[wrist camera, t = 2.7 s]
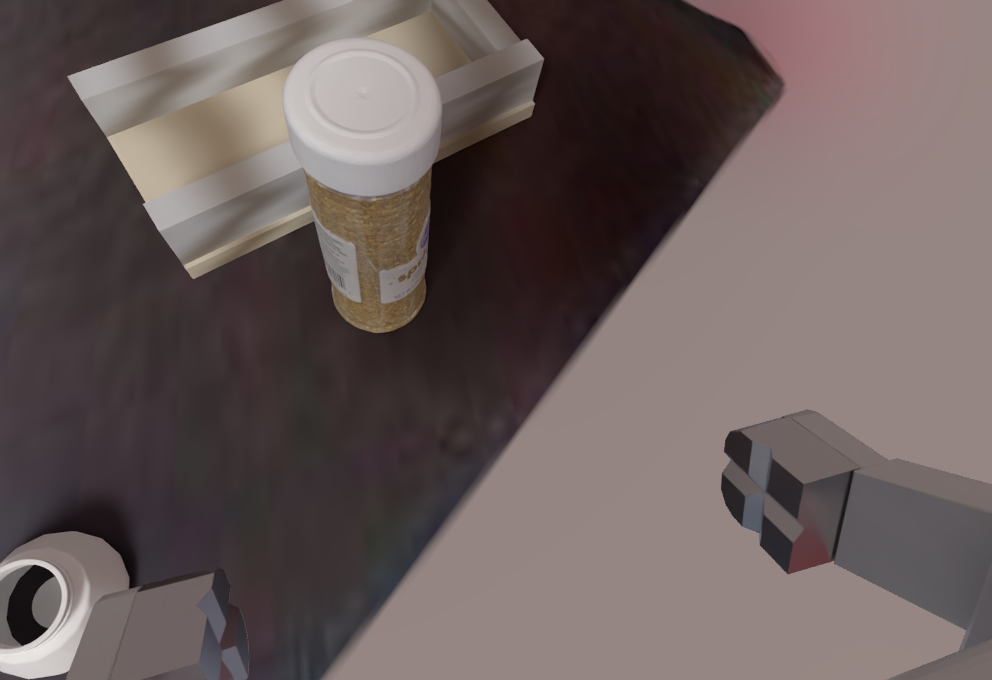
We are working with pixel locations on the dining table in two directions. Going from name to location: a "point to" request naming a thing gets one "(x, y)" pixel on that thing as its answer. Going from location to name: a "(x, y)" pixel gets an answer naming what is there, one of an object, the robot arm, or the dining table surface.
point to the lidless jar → (57, 598)
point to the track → (259, 109)
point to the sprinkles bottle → (367, 171)
